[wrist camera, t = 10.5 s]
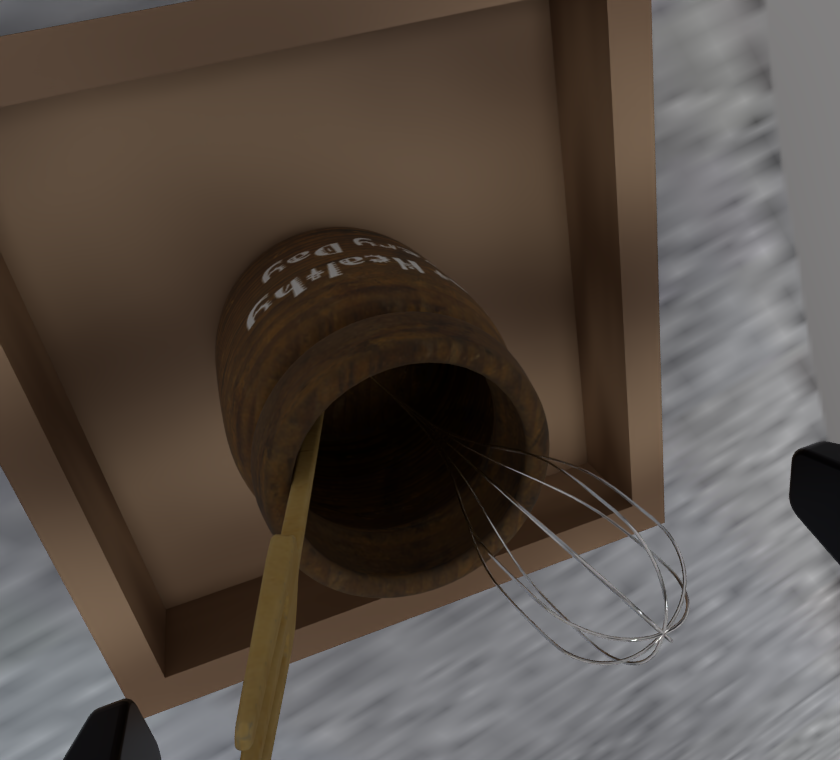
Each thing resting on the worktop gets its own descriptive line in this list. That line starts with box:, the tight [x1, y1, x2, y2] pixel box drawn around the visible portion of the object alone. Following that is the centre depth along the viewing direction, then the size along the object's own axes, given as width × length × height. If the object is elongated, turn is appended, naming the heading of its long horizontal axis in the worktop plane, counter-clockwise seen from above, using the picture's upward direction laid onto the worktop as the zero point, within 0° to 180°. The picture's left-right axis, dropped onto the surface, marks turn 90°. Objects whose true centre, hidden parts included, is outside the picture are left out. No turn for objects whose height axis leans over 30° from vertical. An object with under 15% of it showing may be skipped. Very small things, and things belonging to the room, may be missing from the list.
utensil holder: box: [215, 227, 690, 760], centre depth 13 cm, size 6×6×12 cm
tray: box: [0, 0, 665, 718], centre depth 17 cm, size 15×15×4 cm
